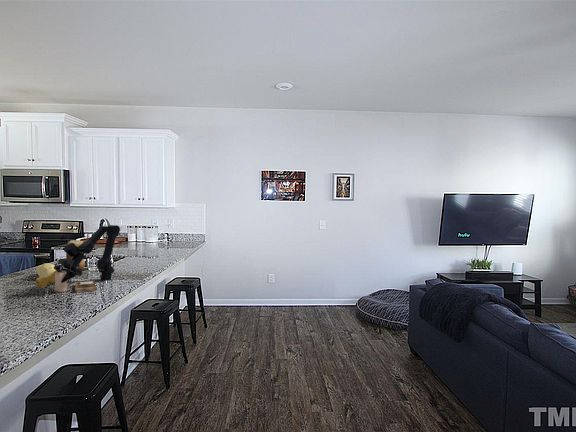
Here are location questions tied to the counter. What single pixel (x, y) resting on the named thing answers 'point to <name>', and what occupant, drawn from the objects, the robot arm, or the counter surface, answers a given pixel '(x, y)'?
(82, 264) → the butternut squash
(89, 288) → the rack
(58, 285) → the clay bar
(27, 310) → the counter surface
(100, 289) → the counter surface
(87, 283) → the clay tile
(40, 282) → the decorative fish
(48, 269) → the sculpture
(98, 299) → the counter surface
